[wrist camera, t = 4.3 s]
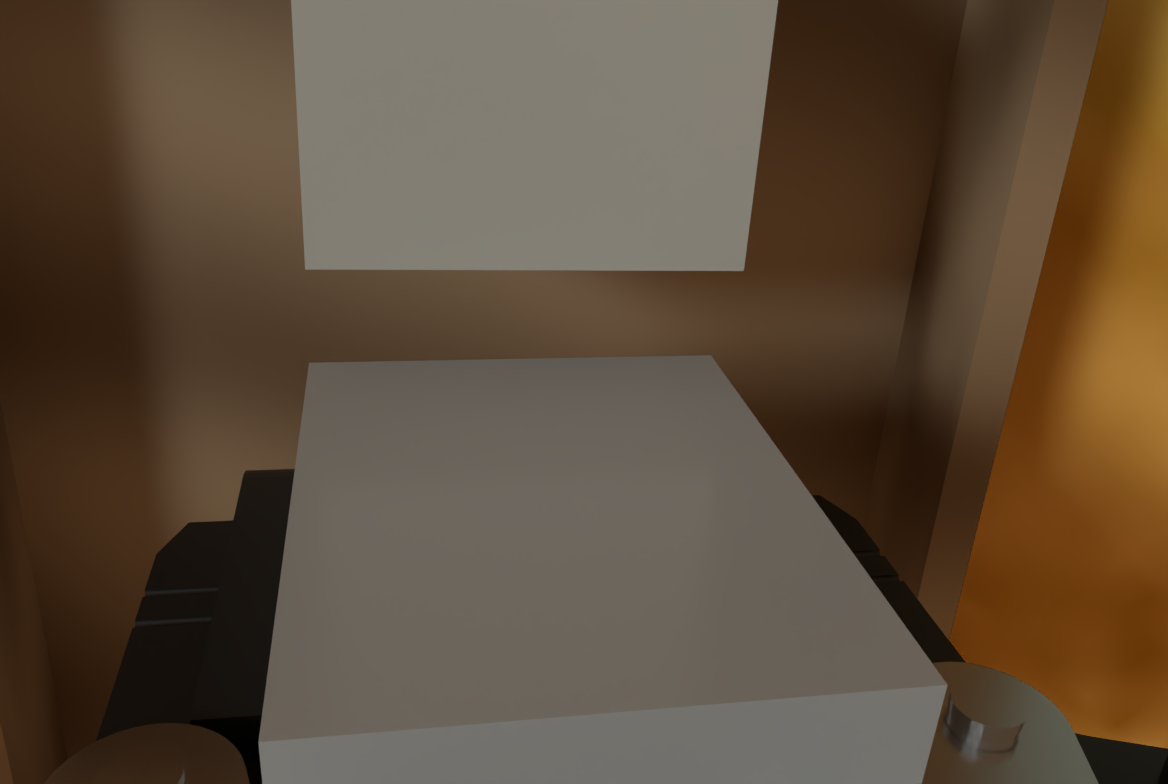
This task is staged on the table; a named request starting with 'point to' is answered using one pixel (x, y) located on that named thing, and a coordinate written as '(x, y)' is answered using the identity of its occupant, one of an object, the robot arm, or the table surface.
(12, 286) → the tray
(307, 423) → the stone
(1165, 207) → the table surface
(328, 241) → the grey rectangular block
